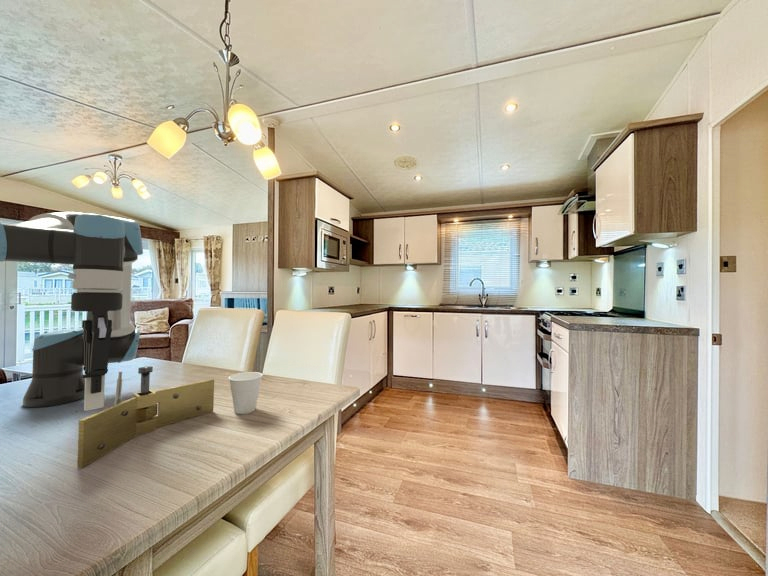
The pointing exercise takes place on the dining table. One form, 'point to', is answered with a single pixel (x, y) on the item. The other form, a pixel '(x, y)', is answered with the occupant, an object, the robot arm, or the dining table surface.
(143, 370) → the pin
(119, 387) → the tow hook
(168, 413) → the fixed leaf
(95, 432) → the moving leaf
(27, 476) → the dining table surface
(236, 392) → the cup
